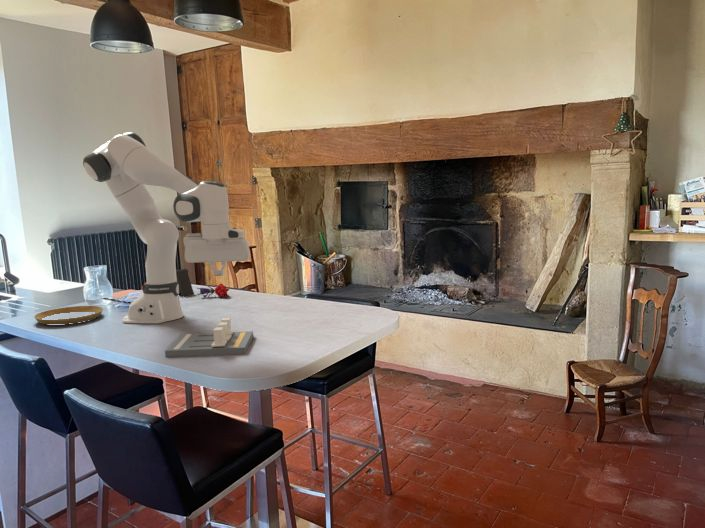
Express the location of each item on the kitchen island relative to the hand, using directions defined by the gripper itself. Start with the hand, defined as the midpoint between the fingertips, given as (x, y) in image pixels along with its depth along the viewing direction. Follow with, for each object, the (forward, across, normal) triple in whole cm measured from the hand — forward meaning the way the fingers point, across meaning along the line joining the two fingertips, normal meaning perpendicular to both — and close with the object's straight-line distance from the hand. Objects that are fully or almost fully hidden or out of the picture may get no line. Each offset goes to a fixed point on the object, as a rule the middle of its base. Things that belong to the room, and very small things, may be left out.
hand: (218, 275), depth 174 cm
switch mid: (+20, +1, -4) cm, 20 cm away
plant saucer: (+23, -67, +41) cm, 82 cm away
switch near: (+20, +1, -10) cm, 22 cm away
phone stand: (+23, -34, +83) cm, 92 cm away
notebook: (+23, -56, +80) cm, 100 cm away
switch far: (+20, +1, +2) cm, 20 cm away
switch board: (+22, -3, -4) cm, 23 cm away
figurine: (+23, -17, +73) cm, 79 cm away
